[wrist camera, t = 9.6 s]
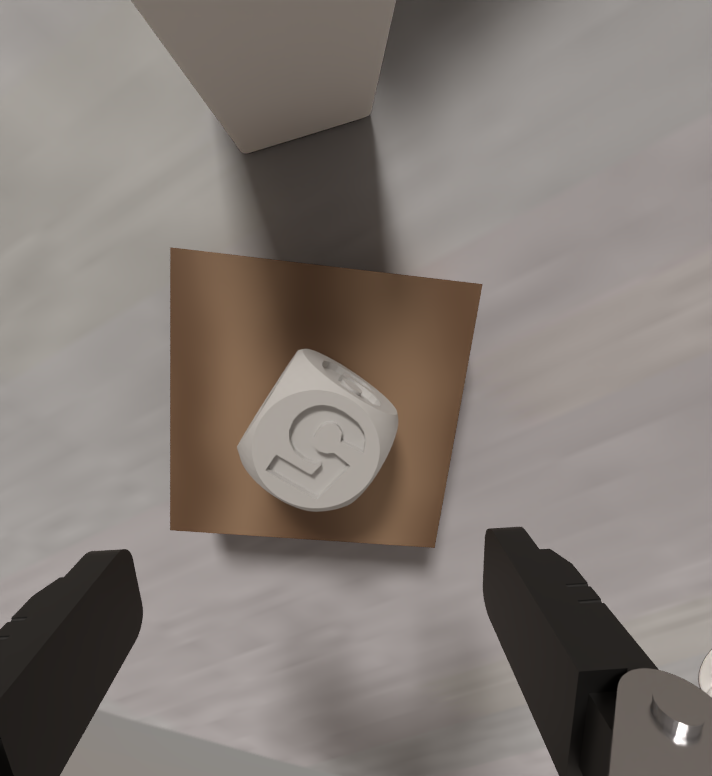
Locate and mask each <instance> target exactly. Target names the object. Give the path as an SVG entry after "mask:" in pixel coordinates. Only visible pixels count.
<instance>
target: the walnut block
mask: <svg viewBox="0 0 712 776" xmlns="http://www.w3.org/2000/svg"><path fill="white" fill-rule="evenodd" d="M481 289H482V284H476V283H467V282H459V281H450V280H442V279H433V278H425V277H416V276H408V275H399V274H391V273H382V272H374V271H365V270H357V269H348V268H340V267H332V266H323V265H315V264H306V263H298V262H289V261H281V260H272V259H264V258H255V257H247V256H238V255H230V254H221V253H213V252H204V251H196V250H187V249H179V248H171V262H170V530H176V531H191V532H206V533H221V534H236V535H251V536H266V537H281V538H296V539H311V540H326V541H341V542H356V543H371V544H386V545H401V546H416V547H431V548H435V542H436V537H437V531H438V526H439V520H440V515H441V509H442V504H443V498H444V493H445V487H446V482H447V476H448V471H449V465H450V460H451V454H452V449H453V443H454V438H455V432H456V427H457V421H458V416H459V410H460V405H461V399H462V394H463V388H464V383H465V377H466V372H467V366H468V361H469V355H470V350H471V344H472V339H473V333H474V328H475V322H476V317H477V311H478V306H479V300H480V295H481ZM301 349H311V350H314V351H316V352H319V353H321V354H323V355H325V356H327V357H329V358H331V359H333V360H335V361H336V362H338V363H340V364H341V365H343V366H345V367H346V368H348V369H349V370H351V371H352V372H354V373H355V374H357V375H358V376H360V377H361V378H363V379H364V380H365V381H367V382H368V383H369V384H371V385H372V386H373V387H374V388H376V389H377V390H378V391H379V392H380V393H382V394H383V395H384V396H385V397H386V398H387V399H388V400H389V401H390V402H391V403H392V404H393V406H394V407H395V408H396V410H397V414H398V428H397V432H396V436H395V439H394V442H393V444H392V447H391V449H390V451H389V454H388V456H387V458H386V460H385V462H384V463H383V465H382V467H381V469H380V470H379V472H378V473H377V475H376V477H375V478H374V479H373V481H372V482H371V484H370V485H369V486H368V487H367V489H366V490H365V491H364V492H363V493H362V494H361V495H360V496H359V497H358V498H357V499H356V500H355V501H354V502H352V503H351V504H349V505H347V506H345V507H342V508H338V509H335V510H329V511H319V512H313V511H306V510H302V509H299V508H296V507H294V506H291V505H289V504H287V503H285V502H283V501H281V500H279V499H278V498H276V497H274V496H273V495H271V494H270V493H269V492H267V491H266V490H265V489H263V488H262V487H261V486H260V485H259V484H258V483H257V482H256V481H255V480H254V479H253V478H252V477H251V476H250V475H249V473H248V472H247V471H246V469H245V468H244V466H243V464H242V462H241V459H240V456H239V453H238V449H237V446H238V444H239V442H240V440H241V438H242V437H243V435H244V433H245V432H246V430H247V428H248V427H249V425H250V423H251V422H252V420H253V419H254V417H255V415H256V414H257V412H258V410H259V409H260V407H261V406H262V404H263V403H264V401H265V399H266V398H267V396H268V395H269V393H270V391H271V390H272V388H273V387H274V385H275V384H276V382H277V381H278V379H279V377H280V376H281V374H282V373H283V371H284V370H285V368H286V367H287V365H288V364H289V362H290V361H291V359H292V358H293V356H294V355H295V353H296V352H297V351H298V350H301Z"/></svg>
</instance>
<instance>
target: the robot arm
mask: <svg viewBox="0 0 712 776" xmlns="http://www.w3.org/2000/svg"><path fill="white" fill-rule="evenodd" d="M483 595H484V602H485V606H486V610H487V613H488V616H489V619H490V621H491V623H492V625H493V628H494V630H495V632H496V634H497V637H498V639H499V641H500V643H501V646H502V648H503V650H504V652H505V655H506V657H507V659H508V661H509V664H510V666H511V668H512V670H513V673H514V675H515V677H516V679H517V682H518V684H519V686H520V688H521V691H522V693H523V695H524V697H525V700H526V702H527V704H528V706H529V709H530V711H531V713H532V715H533V718H534V720H535V722H536V724H537V727H538V729H539V731H540V734H541V736H542V738H543V740H544V743H545V745H546V747H547V749H548V752H549V754H550V756H551V758H552V761H553V763H554V765H555V767H556V770H557V772H558V774H559V776H712V697H710V696H709V695H708V694H707V693H706V692H704V691H703V690H701V689H700V688H698V687H697V686H695V685H694V684H692V683H690V682H688V681H687V680H685V679H683V678H680V677H678V676H676V675H673V674H671V673H668V672H665V671H661V670H659V669H658V668H657V667H656V666H655V664H654V663H653V662H652V661H651V660H650V658H649V657H648V656H647V655H646V654H645V652H644V651H643V650H642V649H641V647H640V646H639V645H638V644H637V643H636V641H635V640H634V639H633V638H632V636H631V635H630V634H629V633H628V632H627V630H626V629H625V628H624V627H623V625H622V624H621V623H620V622H619V621H618V619H617V618H616V617H615V616H614V614H613V613H612V612H611V611H610V610H609V608H608V607H607V606H606V605H605V603H602V602H601V599H600V597H599V596H598V595H597V594H596V593H595V591H594V590H593V589H592V588H591V586H590V587H588V584H587V582H586V580H585V579H584V578H583V577H582V575H581V574H580V573H579V572H578V571H577V569H576V568H575V567H574V566H573V564H571V563H570V562H569V561H567V560H566V559H564V558H563V557H561V556H560V555H558V554H557V553H555V552H554V551H552V550H551V549H539V548H538V547H537V545H536V544H535V543H534V541H533V540H532V539H531V537H530V536H529V535H528V533H527V532H526V531H525V529H524V528H522V527H509V528H492V529H487V531H486V534H485V548H484V571H483ZM142 618H143V607H142V601H141V596H140V592H139V587H138V582H137V577H136V572H135V567H134V562H133V558H132V555H131V553H130V552H129V551H128V550H126V549H122V550H105V551H91V552H88V553H86V554H85V555H84V556H83V557H82V558H81V559H80V560H79V561H78V563H77V564H76V565H75V566H74V567H73V568H72V569H71V570H70V571H69V572H68V573H67V574H66V576H65V577H62V578H58V579H57V580H56V581H54V582H53V583H51V584H50V585H48V586H47V587H45V588H44V589H42V590H41V591H39V592H38V593H36V594H35V595H34V596H32V597H31V598H30V599H29V600H28V601H27V602H26V603H25V604H24V605H23V607H22V608H21V609H20V610H19V611H18V612H17V613H16V614H15V615H14V616H13V617H12V620H11V622H7V623H6V624H5V625H4V626H3V627H2V628H1V629H0V776H60V774H61V772H62V771H63V769H64V767H65V765H66V764H67V762H68V760H69V758H70V756H71V755H72V753H73V751H74V749H75V748H76V746H77V744H78V742H79V741H80V739H81V737H82V735H83V733H84V732H85V730H86V728H87V726H88V724H89V723H90V721H91V719H92V717H93V716H94V714H95V712H96V710H97V709H98V707H99V705H100V703H101V701H102V700H103V698H104V696H105V694H106V693H107V691H108V689H109V687H110V685H111V684H112V682H113V680H114V678H115V677H116V675H117V673H118V671H119V669H120V668H121V666H122V664H123V662H124V661H125V659H126V657H127V655H128V653H129V652H130V650H131V648H132V646H133V645H134V643H135V641H136V639H137V637H138V635H139V632H140V628H141V624H142Z"/></svg>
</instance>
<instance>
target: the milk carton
mask: <svg viewBox="0 0 712 776" xmlns="http://www.w3.org/2000/svg"><path fill="white" fill-rule="evenodd" d="M131 1H132V3H133V4H134V5H135V7H136V8H137V9H138V11H139V12H140V14H141V15H142V16H143V18H144V19H145V20H146V22H147V23H148V25H149V26H150V27H151V29H152V30H153V31H154V33H155V34H156V36H157V37H158V38H159V40H160V41H161V42H162V44H163V45H164V47H165V48H166V49H167V51H168V52H169V53H170V55H171V56H172V57H173V59H174V60H175V62H176V63H177V64H178V66H179V67H180V68H181V70H182V71H183V73H184V74H185V75H186V77H187V78H188V79H189V81H190V82H191V84H192V85H193V86H194V88H195V89H196V90H197V92H198V93H199V95H200V96H201V97H202V99H203V100H204V101H205V103H206V104H207V106H208V107H209V108H210V110H211V111H212V112H213V114H214V115H215V117H216V118H217V119H218V121H219V122H220V123H221V125H222V126H223V128H224V129H225V130H226V132H227V133H228V134H229V136H230V137H231V139H232V140H233V141H234V143H235V144H236V145H237V147H238V148H239V150H240V151H241V152H242V153H244V154H245V153H250V152H254V151H257V150H261V149H264V148H267V147H270V146H274V145H277V144H280V143H283V142H287V141H290V140H293V139H296V138H300V137H303V136H306V135H310V134H313V133H316V132H319V131H323V130H326V129H329V128H332V127H336V126H339V125H342V124H345V123H349V122H352V121H355V120H358V119H361V118H364V117H367V116H369V115H370V114H371V111H372V106H373V102H374V97H375V93H376V89H377V84H378V80H379V75H380V71H381V66H382V62H383V57H384V53H385V48H386V44H387V39H388V35H389V30H390V26H391V21H392V17H393V13H394V8H395V4H396V0H131Z"/></svg>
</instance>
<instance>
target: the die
mask: <svg viewBox="0 0 712 776" xmlns="http://www.w3.org/2000/svg"><path fill="white" fill-rule="evenodd" d="M397 428H398V414H397V410H396V408H395V407H394V406H393V404H392V403H391V402H390V401H389V400H388V399H387V398H386V397H385V396H384V395H383V394H382V393H380V392H379V391H378V390H377V389H376V388H374V387H373V386H372V385H371V384H369V383H368V382H367V381H365V380H364V379H363V378H361V377H360V376H358V375H357V374H355V373H354V372H352V371H351V370H349V369H348V368H346V367H345V366H343V365H341V364H340V363H338V362H336V361H335V360H333V359H331V358H329V357H327V356H325V355H323V354H321V353H319V352H316V351H314V350H311V349H301V350H298V351H297V352H296V353H295V355H294V356H293V358H292V359H291V361H290V362H289V364H288V365H287V367H286V368H285V370H284V371H283V373H282V374H281V376H280V377H279V379H278V381H277V382H276V384H275V385H274V387H273V388H272V390H271V391H270V393H269V395H268V396H267V398H266V399H265V401H264V403H263V404H262V406H261V407H260V409H259V410H258V412H257V414H256V415H255V417H254V419H253V420H252V422H251V423H250V425H249V427H248V428H247V430H246V432H245V433H244V435H243V437H242V438H241V440H240V442H239V444H238V446H237V449H238V453H239V456H240V459H241V462H242V464H243V466H244V468H245V469H246V471H247V472H248V473H249V475H250V476H251V477H252V478H253V479H254V480H255V481H256V482H257V483H258V484H259V485H260V486H261V487H262V488H263V489H265V490H266V491H267V492H269V493H270V494H271V495H273V496H274V497H276V498H278V499H279V500H281V501H283V502H285V503H287V504H289V505H291V506H294V507H296V508H299V509H302V510H306V511H313V512H319V511H329V510H335V509H338V508H342V507H345V506H347V505H349V504H351V503H352V502H354V501H355V500H356V499H357V498H358V497H359V496H360V495H361V494H362V493H363V492H364V491H365V490H366V489H367V487H368V486H369V485H370V484H371V482H372V481H373V479H374V478H375V477H376V475H377V473H378V472H379V470H380V469H381V467H382V465H383V463H384V462H385V460H386V458H387V456H388V454H389V451H390V449H391V447H392V444H393V442H394V439H395V436H396V432H397Z"/></svg>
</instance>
